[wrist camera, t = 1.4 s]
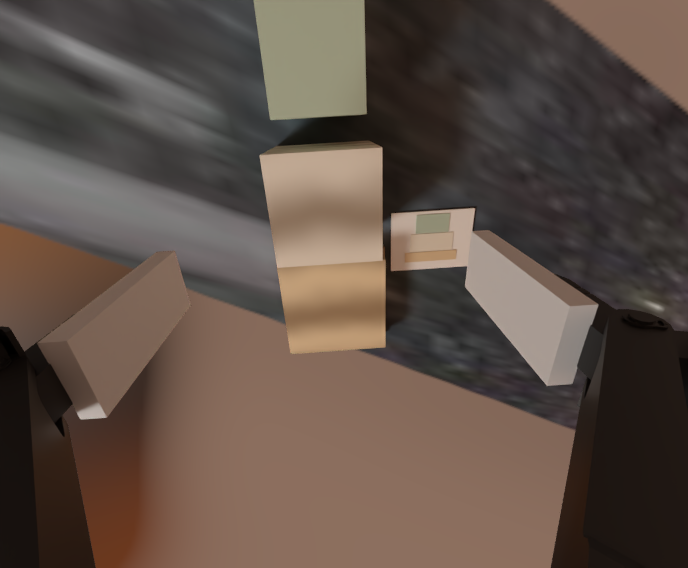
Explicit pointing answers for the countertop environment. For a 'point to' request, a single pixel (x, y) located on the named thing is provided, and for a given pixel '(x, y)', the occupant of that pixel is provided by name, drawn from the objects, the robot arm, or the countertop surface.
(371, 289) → the base
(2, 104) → the countertop surface
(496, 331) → the countertop surface
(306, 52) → the sage brick
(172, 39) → the countertop surface
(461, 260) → the page
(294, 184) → the birch brick
